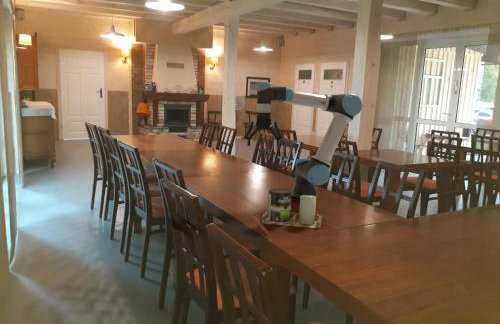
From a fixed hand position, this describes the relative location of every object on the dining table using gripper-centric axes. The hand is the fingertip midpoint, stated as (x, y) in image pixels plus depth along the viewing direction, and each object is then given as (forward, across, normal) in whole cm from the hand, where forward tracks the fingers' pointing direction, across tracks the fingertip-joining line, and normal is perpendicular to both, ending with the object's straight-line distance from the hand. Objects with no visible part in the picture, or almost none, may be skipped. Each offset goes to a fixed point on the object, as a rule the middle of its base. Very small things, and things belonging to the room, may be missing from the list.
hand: (262, 152), depth 211 cm
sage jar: (+27, +11, -41) cm, 50 cm away
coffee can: (+28, 0, -35) cm, 45 cm away
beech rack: (+29, +5, -37) cm, 47 cm away
